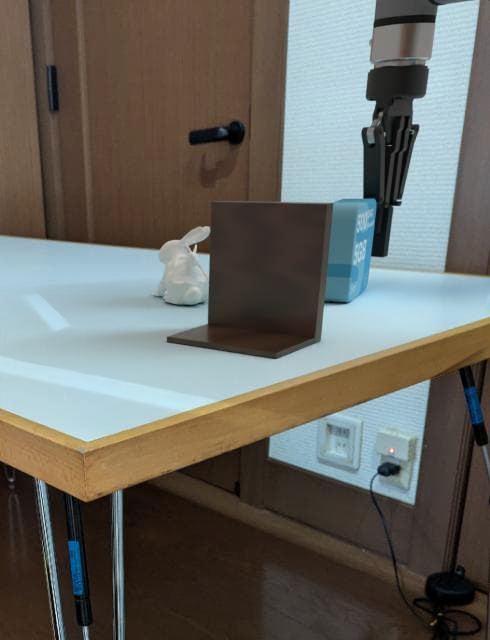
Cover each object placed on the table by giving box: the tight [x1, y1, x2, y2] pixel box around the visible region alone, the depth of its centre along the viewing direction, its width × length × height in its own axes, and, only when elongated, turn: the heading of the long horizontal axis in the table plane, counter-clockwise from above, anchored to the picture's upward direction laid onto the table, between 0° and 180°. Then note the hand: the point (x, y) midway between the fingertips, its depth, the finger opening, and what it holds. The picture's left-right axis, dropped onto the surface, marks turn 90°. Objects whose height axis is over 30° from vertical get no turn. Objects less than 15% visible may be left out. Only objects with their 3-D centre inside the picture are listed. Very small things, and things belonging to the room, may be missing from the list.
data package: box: [324, 198, 376, 303], centre depth 108 cm, size 12×4×12 cm, turn 151°
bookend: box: [166, 200, 333, 359], centre depth 86 cm, size 14×10×14 cm
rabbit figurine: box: [150, 225, 211, 306], centre depth 110 cm, size 12×8×10 cm, turn 12°
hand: (376, 255), depth 115 cm, fingers closed
